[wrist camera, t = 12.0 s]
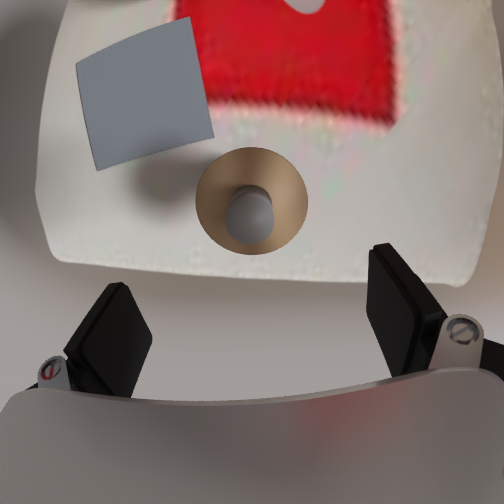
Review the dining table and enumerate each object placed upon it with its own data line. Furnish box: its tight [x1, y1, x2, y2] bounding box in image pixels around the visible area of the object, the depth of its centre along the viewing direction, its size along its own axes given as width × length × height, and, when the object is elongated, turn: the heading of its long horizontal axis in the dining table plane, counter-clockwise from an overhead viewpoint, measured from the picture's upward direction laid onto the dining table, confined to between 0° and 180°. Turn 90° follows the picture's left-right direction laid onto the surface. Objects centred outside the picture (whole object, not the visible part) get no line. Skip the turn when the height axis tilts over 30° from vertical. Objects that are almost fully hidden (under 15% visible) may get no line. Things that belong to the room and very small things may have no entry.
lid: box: [195, 147, 308, 255], centre depth 23 cm, size 10×10×5 cm
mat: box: [76, 17, 214, 171], centre depth 30 cm, size 18×18×1 cm
